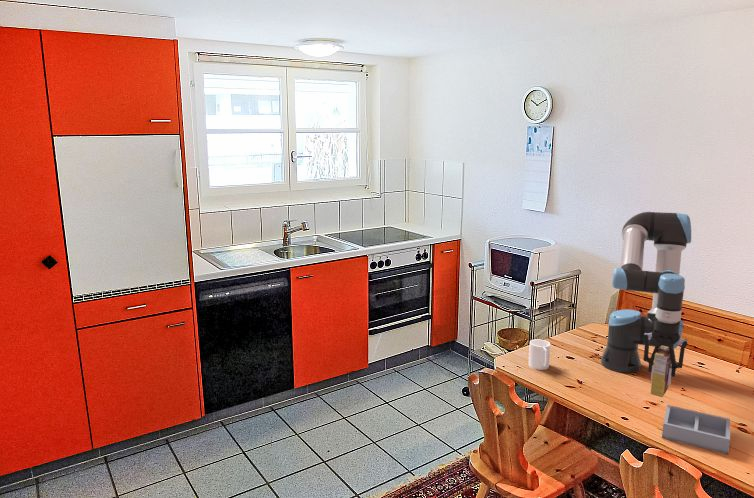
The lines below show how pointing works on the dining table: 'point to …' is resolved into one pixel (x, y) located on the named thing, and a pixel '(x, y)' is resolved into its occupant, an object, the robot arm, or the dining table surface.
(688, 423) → the bin
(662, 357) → the candy box
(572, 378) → the dining table surface
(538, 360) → the cup
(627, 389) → the dining table surface
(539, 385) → the dining table surface
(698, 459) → the dining table surface
